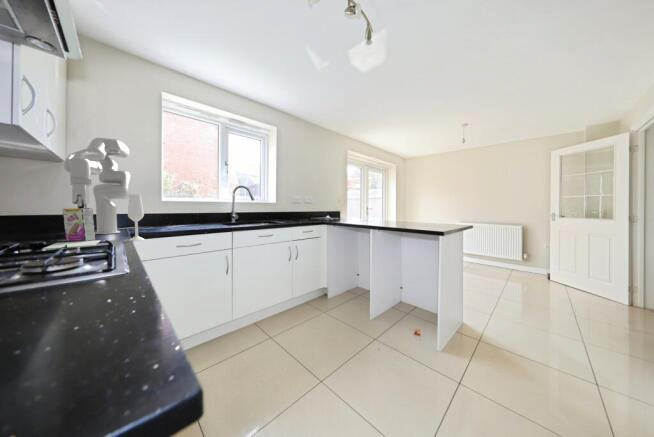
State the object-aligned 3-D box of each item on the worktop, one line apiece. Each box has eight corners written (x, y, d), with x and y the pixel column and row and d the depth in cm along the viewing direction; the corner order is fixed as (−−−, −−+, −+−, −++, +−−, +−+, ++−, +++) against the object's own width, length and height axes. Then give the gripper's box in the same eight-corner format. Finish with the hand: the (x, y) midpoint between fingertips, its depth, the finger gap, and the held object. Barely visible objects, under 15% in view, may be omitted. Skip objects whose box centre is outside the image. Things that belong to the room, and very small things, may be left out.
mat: (56, 243, 109) (56, 242, 109) (100, 240, 119) (100, 240, 119) (42, 249, 95) (42, 248, 95) (94, 245, 104) (94, 244, 104)
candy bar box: (65, 241, 115) (61, 208, 114) (76, 240, 120) (73, 208, 119) (85, 241, 114) (81, 207, 113) (96, 239, 119) (93, 207, 118)
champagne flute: (126, 240, 120) (124, 194, 118) (131, 239, 126) (129, 194, 124) (142, 240, 122) (140, 194, 121) (146, 238, 128) (145, 195, 127)
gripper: (74, 183, 124) (75, 217, 125) (66, 180, 112) (68, 218, 113) (93, 183, 129) (95, 217, 130) (88, 181, 117) (90, 218, 118)
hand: (82, 217), depth 122 cm, fingers closed
